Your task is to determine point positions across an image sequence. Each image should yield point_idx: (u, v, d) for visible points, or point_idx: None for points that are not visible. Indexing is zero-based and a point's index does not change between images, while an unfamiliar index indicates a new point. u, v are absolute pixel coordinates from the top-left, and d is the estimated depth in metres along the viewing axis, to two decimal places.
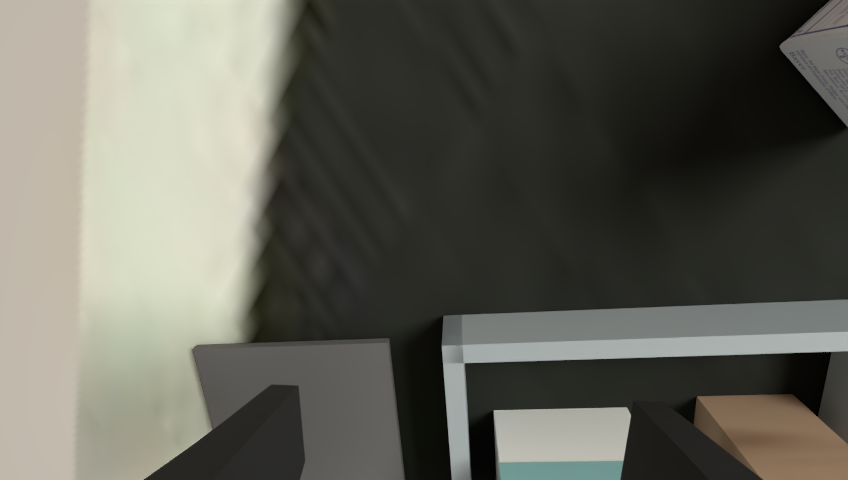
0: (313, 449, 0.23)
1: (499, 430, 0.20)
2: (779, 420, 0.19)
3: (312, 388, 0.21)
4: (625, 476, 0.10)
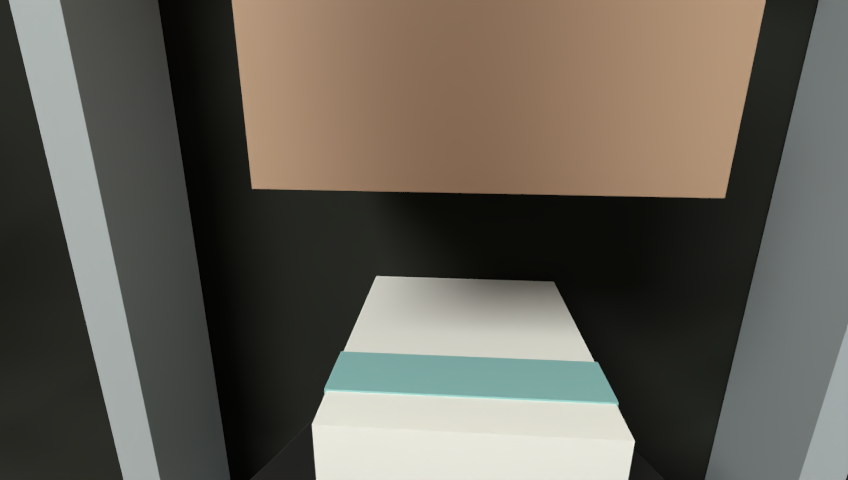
0: None
1: None
2: None
3: None
4: None
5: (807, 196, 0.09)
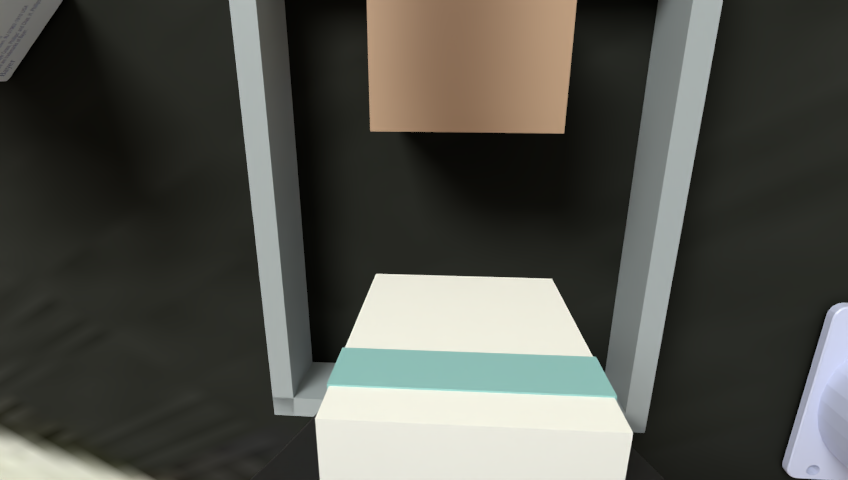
0: None
1: None
2: None
3: None
4: None
5: (647, 148, 0.16)
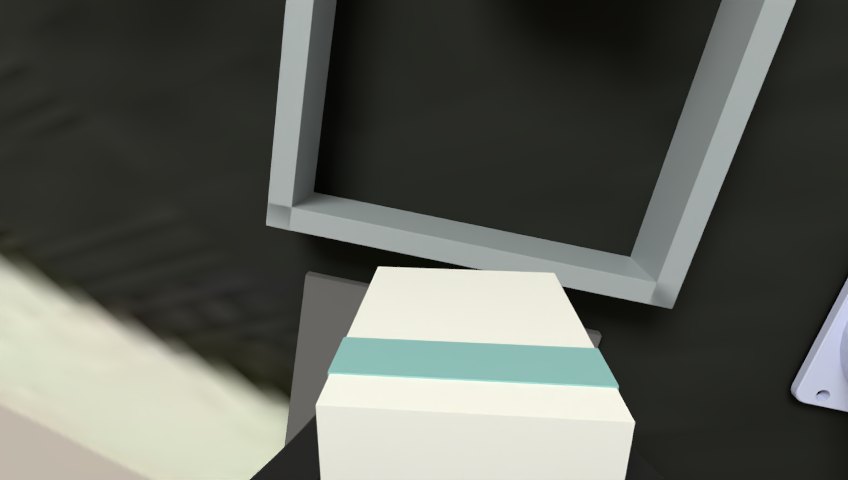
0: None
1: None
2: None
3: None
4: None
5: None
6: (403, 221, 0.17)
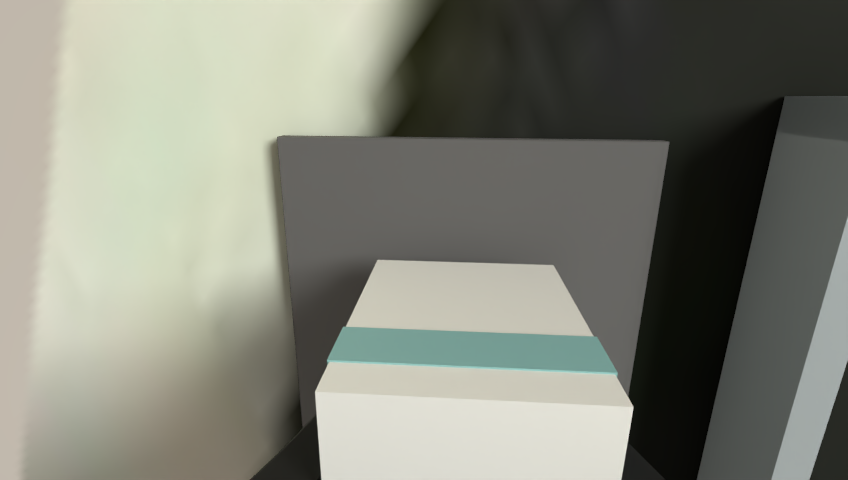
0: None
1: None
2: None
3: (497, 232, 0.11)
4: None
5: None
6: None
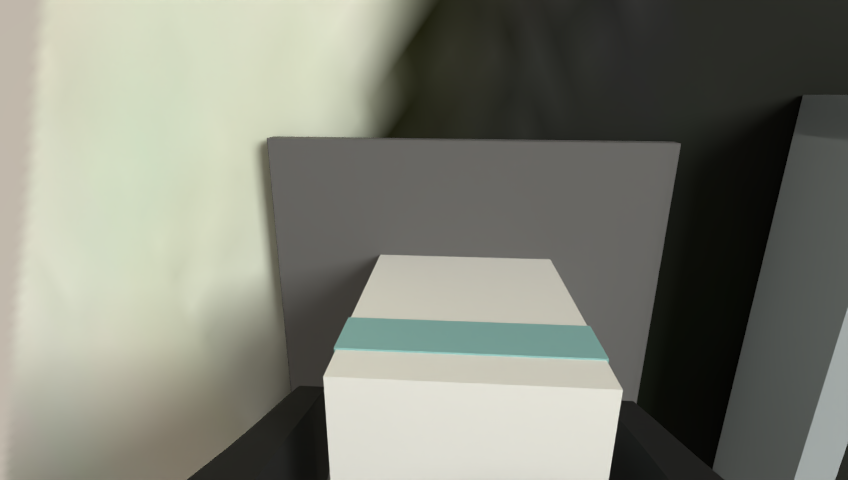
0: None
1: None
2: None
3: (499, 238, 0.11)
4: None
5: None
6: None
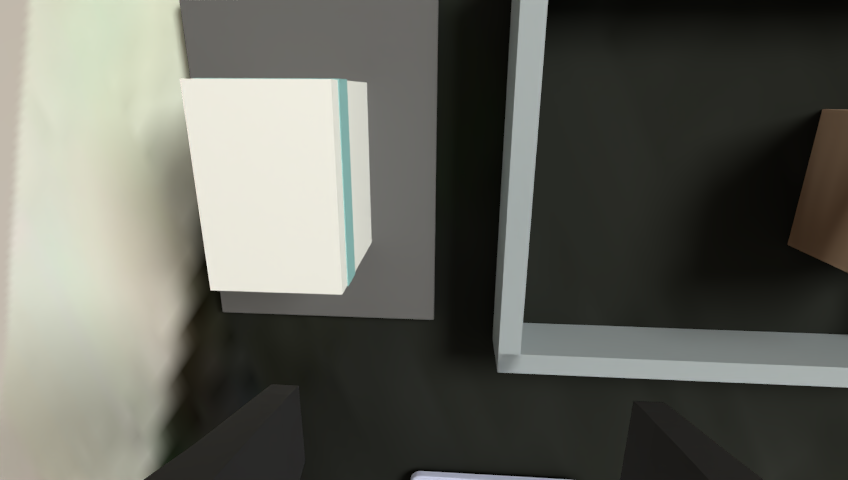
0: None
1: None
2: None
3: (332, 68, 0.17)
4: (625, 476, 0.10)
5: (760, 342, 0.18)
6: None
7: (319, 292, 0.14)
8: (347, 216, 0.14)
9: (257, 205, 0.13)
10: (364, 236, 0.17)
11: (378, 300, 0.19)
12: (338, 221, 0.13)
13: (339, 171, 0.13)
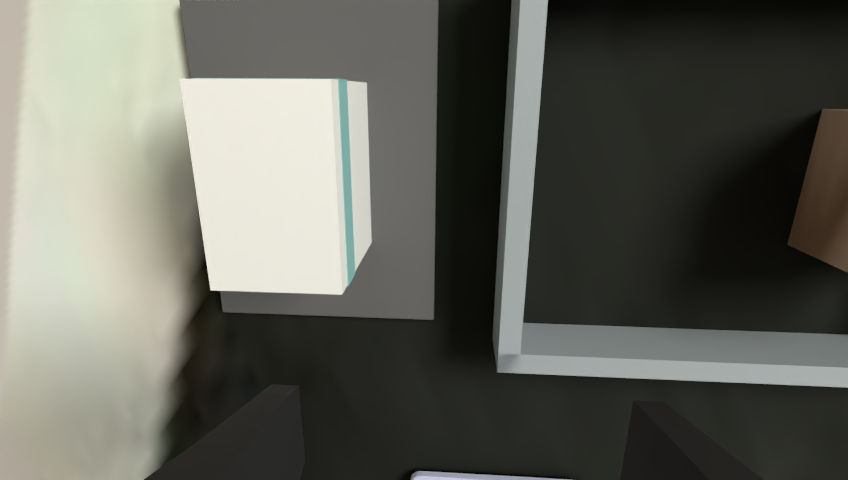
0: None
1: None
2: None
3: (332, 68, 0.17)
4: (625, 476, 0.10)
5: (760, 342, 0.18)
6: None
7: (319, 292, 0.14)
8: (347, 216, 0.14)
9: (257, 205, 0.13)
10: (364, 236, 0.17)
11: (378, 300, 0.19)
12: (338, 221, 0.13)
13: (339, 171, 0.13)
